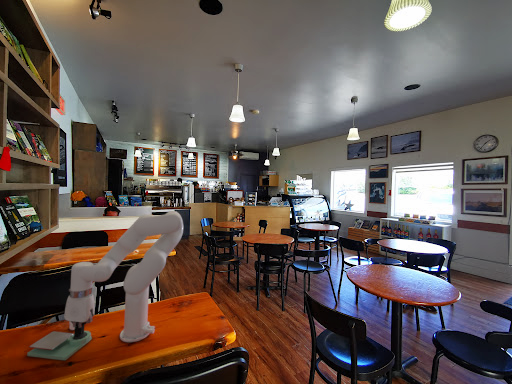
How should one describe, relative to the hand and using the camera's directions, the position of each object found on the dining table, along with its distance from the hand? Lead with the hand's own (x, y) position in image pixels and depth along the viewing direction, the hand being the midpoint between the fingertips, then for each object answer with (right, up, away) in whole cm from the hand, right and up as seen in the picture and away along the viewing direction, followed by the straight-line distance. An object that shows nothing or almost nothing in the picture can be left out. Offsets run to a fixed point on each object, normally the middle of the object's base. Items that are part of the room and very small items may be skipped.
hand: (79, 335), depth 100 cm
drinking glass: (-9, -3, +10) cm, 14 cm away
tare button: (0, -2, 0) cm, 2 cm away
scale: (-5, -3, -3) cm, 7 cm away
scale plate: (-8, 0, -4) cm, 9 cm away
